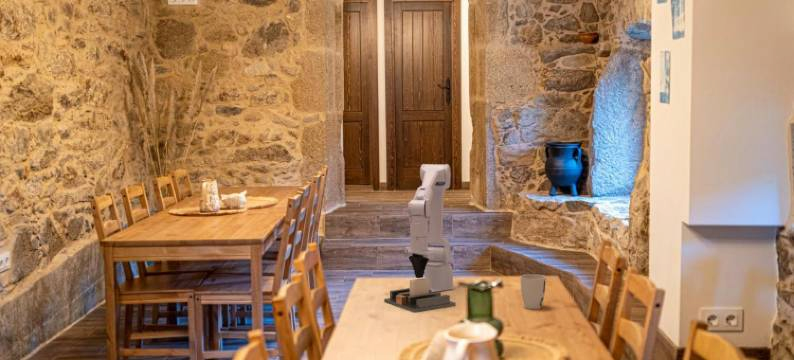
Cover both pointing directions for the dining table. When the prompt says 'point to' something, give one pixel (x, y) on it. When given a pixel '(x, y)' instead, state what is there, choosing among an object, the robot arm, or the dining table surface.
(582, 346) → the dining table surface
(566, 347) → the dining table surface
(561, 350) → the dining table surface
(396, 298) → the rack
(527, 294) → the cup
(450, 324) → the dining table surface
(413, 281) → the tall beige block
